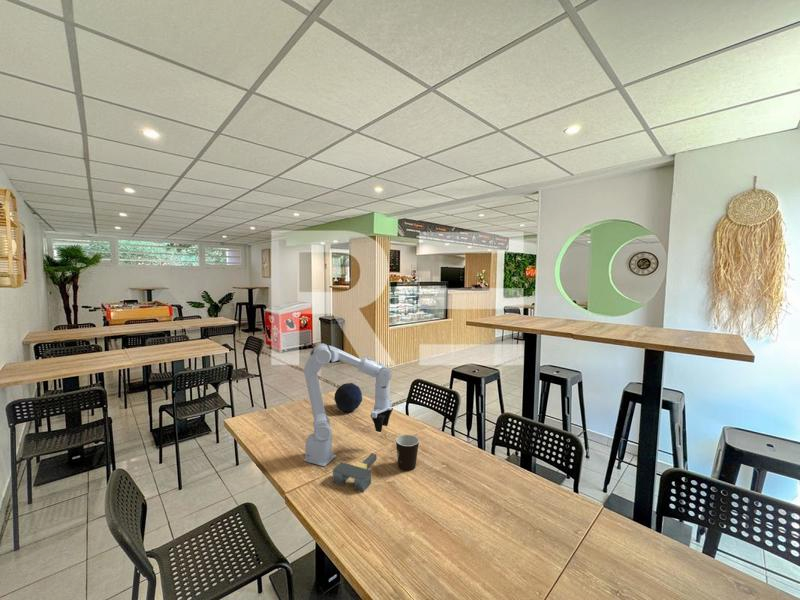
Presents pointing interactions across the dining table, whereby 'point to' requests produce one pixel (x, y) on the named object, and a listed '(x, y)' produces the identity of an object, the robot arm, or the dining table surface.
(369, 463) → the plug
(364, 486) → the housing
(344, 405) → the decorative orb
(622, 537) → the dining table surface
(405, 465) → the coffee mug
